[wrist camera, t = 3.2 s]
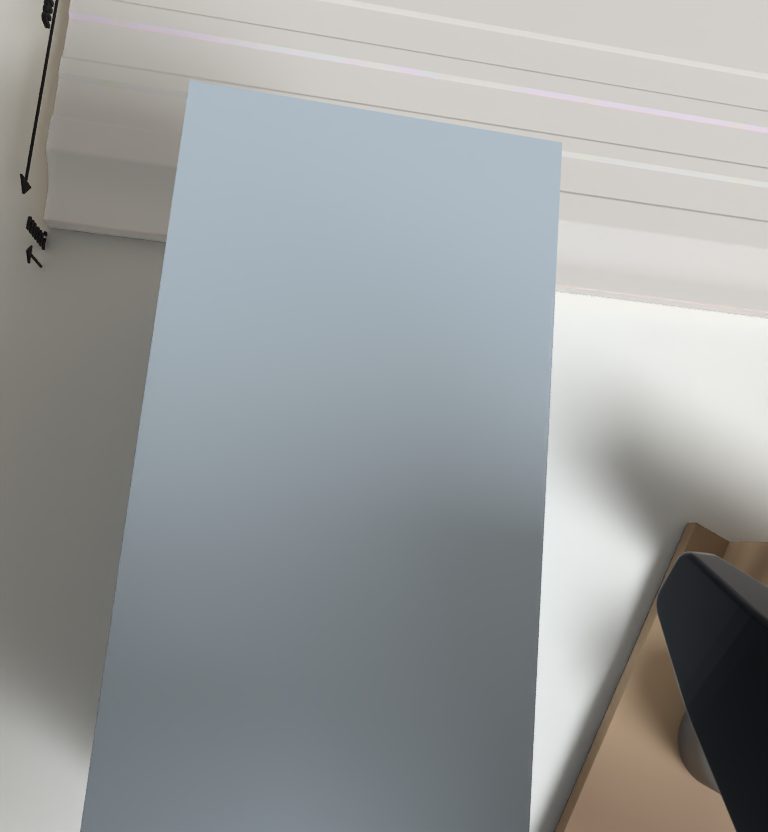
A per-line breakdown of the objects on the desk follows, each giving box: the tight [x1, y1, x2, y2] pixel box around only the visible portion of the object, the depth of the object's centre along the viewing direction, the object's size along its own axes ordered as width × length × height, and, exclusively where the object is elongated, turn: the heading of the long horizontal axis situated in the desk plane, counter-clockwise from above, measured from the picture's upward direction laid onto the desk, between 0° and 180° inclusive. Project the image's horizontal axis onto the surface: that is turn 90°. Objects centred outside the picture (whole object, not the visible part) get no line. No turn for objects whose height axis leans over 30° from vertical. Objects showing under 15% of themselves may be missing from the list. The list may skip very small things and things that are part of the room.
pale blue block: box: [80, 80, 562, 832], centre depth 13 cm, size 12×5×9 cm, turn 175°
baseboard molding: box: [20, 0, 768, 318], centre depth 20 cm, size 31×3×12 cm
